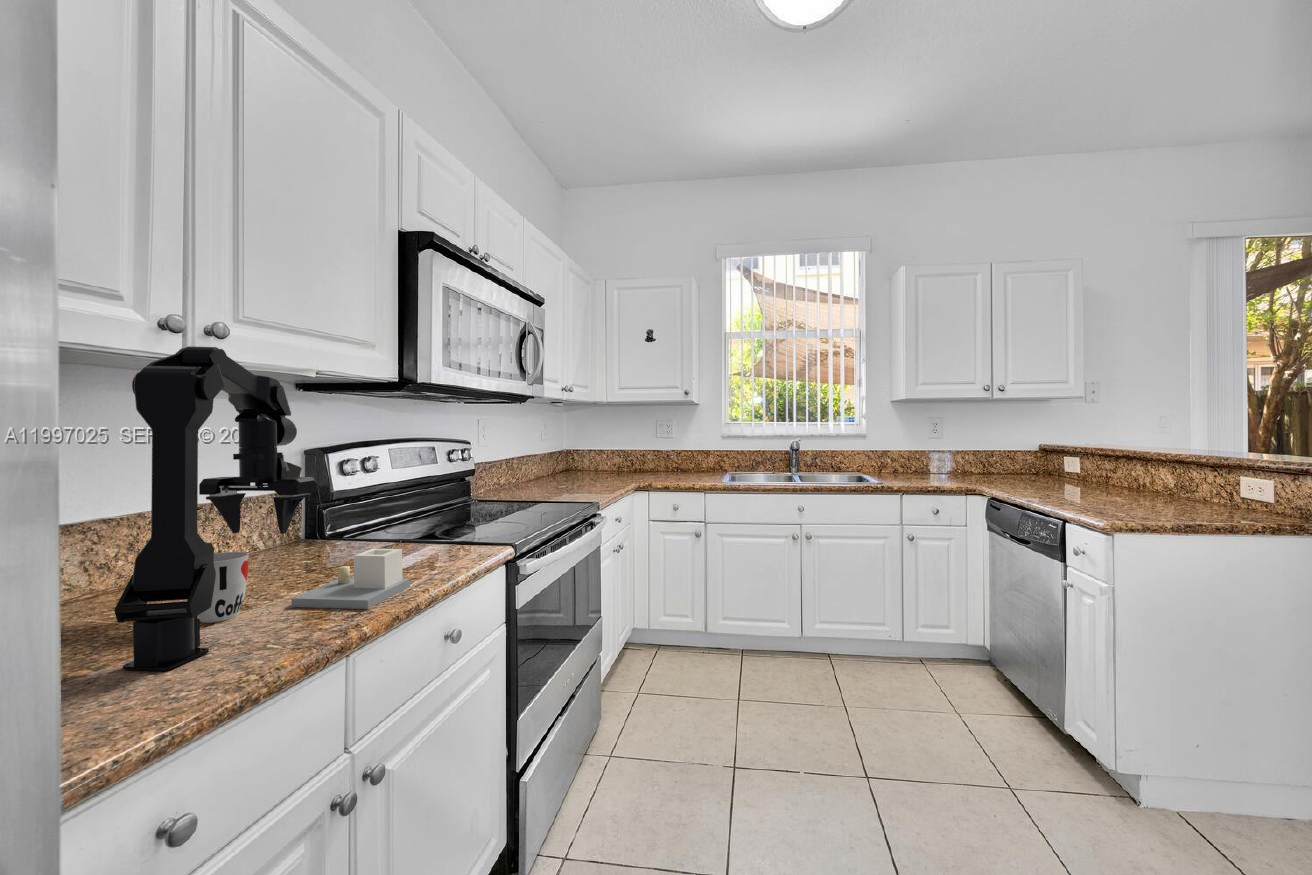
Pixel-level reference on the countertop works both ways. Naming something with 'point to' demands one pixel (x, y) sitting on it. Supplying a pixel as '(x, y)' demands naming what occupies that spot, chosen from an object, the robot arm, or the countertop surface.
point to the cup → (227, 586)
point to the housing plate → (346, 593)
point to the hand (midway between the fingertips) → (259, 533)
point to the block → (377, 568)
